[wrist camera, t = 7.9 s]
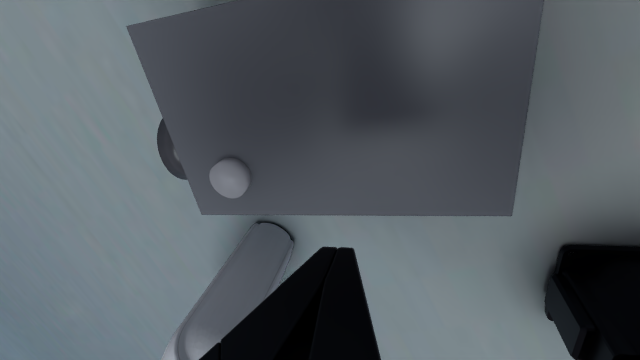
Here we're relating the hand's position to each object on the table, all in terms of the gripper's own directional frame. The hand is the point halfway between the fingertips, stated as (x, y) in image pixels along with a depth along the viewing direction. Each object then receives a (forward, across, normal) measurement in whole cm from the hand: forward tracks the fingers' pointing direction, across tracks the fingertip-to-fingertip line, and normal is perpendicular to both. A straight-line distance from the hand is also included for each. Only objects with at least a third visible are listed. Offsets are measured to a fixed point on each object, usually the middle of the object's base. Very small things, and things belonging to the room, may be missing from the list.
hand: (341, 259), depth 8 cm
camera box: (+12, +2, -2) cm, 12 cm away
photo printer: (+12, +11, +12) cm, 20 cm away
